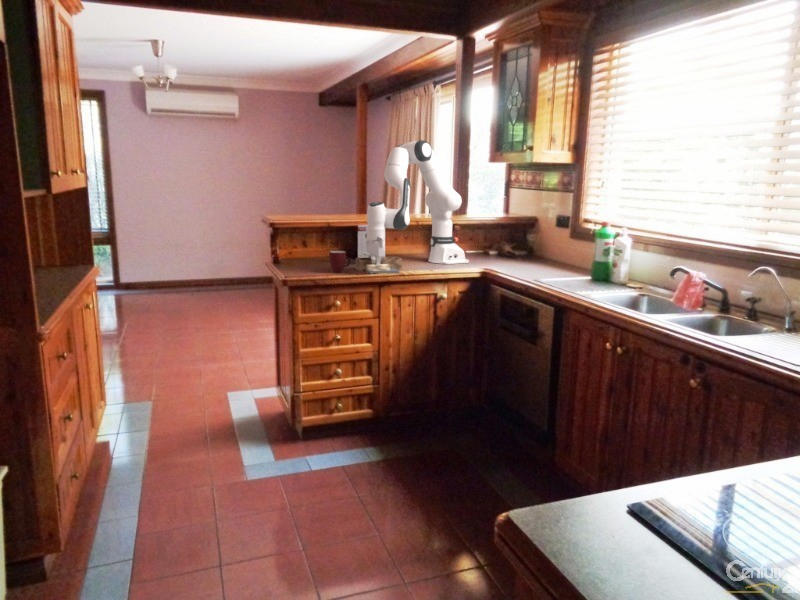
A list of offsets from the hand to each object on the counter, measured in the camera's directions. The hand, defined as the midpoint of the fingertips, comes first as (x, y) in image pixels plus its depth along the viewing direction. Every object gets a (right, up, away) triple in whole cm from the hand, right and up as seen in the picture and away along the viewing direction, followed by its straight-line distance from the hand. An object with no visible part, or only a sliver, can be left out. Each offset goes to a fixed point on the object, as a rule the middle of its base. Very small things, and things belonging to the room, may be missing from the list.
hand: (375, 264), depth 301 cm
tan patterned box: (+1, -2, +11) cm, 11 cm away
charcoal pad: (+3, -4, +2) cm, 5 cm away
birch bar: (+1, -3, +1) cm, 3 cm away
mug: (-17, -4, +1) cm, 18 cm away
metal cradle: (+1, +2, +10) cm, 11 cm away
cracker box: (-3, +1, +27) cm, 27 cm away
